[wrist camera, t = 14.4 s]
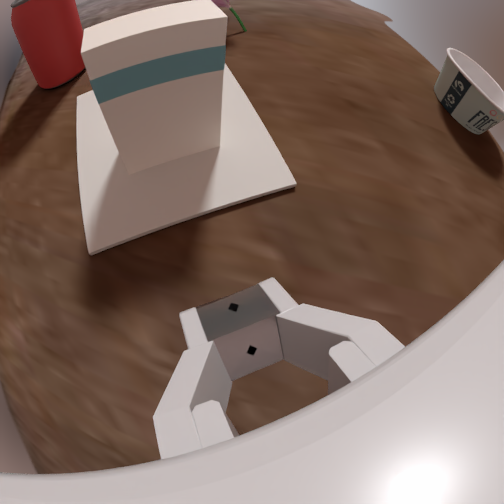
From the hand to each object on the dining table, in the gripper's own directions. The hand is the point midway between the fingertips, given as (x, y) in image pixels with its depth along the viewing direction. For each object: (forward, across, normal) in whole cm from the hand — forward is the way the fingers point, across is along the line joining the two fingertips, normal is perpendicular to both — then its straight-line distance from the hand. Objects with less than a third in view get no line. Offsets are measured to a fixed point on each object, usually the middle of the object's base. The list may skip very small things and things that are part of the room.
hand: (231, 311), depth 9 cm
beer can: (+26, +8, -16) cm, 32 cm away
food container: (+14, -38, -4) cm, 40 cm away
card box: (+14, -1, -4) cm, 14 cm away
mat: (+15, -1, -5) cm, 16 cm away
